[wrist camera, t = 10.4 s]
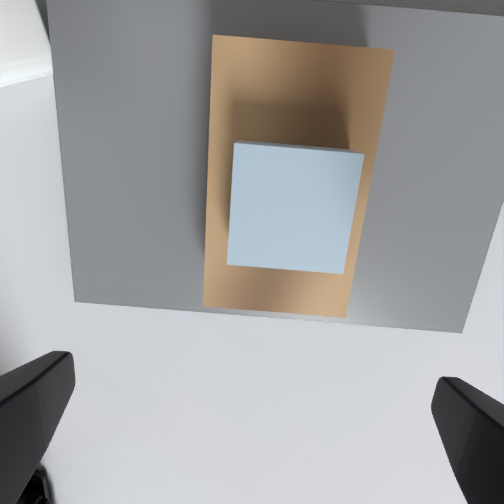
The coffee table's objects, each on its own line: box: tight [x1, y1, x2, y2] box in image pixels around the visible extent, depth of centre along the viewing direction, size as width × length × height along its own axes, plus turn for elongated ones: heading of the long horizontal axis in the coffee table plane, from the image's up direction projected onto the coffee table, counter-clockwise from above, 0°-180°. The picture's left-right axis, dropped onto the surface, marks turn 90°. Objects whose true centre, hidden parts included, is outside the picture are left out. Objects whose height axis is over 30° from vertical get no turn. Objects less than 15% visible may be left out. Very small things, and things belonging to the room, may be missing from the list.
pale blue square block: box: [227, 140, 365, 274], centre depth 13 cm, size 4×4×2 cm
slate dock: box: [46, 0, 504, 333], centre depth 17 cm, size 20×14×2 cm
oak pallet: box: [203, 35, 395, 318], centre depth 15 cm, size 6×10×3 cm, turn 176°
